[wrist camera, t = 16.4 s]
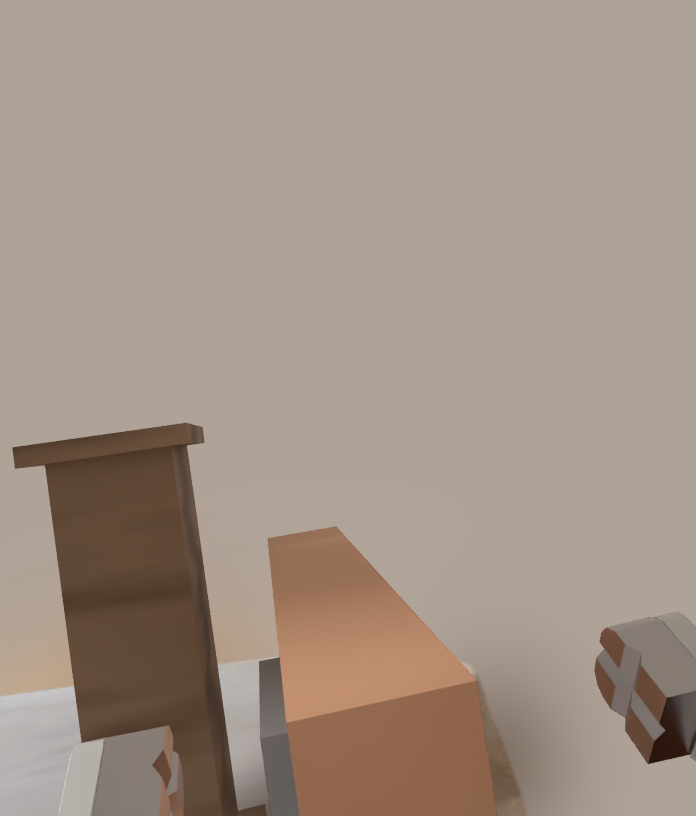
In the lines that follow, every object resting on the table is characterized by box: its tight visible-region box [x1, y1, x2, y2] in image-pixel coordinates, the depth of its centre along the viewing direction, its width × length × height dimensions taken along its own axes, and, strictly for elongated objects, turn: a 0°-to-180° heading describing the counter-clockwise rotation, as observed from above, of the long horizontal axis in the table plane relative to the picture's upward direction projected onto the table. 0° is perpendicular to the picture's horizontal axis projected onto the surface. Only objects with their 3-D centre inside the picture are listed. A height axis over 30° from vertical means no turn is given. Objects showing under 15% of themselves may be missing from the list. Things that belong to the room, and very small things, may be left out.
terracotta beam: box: [268, 527, 497, 816], centre depth 24 cm, size 23×4×4 cm, turn 9°
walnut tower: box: [13, 423, 266, 816], centre depth 33 cm, size 11×9×26 cm
